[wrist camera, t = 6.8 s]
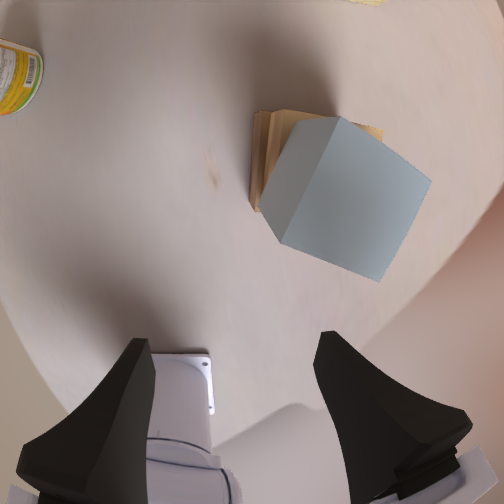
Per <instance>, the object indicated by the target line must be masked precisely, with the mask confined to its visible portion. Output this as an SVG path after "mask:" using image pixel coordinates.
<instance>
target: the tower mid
mask: <svg viewBox="0 0 504 504" xmlns="http://www.w3.org/2000/svg"><path fill="white" fill-rule="evenodd" d="M317 118H326V116H321V115H316V114H311V113H305V112H300V111H294V110H287V109H282V110H279V111H275V112H272V113H271V117H270V126H269V135H268V144H267V153H266V162H265V171H264V180H263V188H262V193H263V191H264V188H265V186H266V184H267V182H268V180H269V178H270V175H271V173H272V171H273V169H274V167H275V165H276V163H277V160H278V158H279V156H280V154H281V152H282V150H283V148H284V145H285V143H286V141H287V139H288V137H289V135H290V133H291V131H292V128H293V126H294V124H295V122H296V121H300V120H308V119H317ZM351 123H353V122H351ZM353 124H354V125H356V126H358V127H359V128H361V129H362V130H364V131H365V132H367V133H368V134H370V135H371V136H373V137H374V138H376V139H377V140H379V141H380V142H382V136H383V130H380V129H376V128H373V127H369V126H365V125H361V124H357V123H353Z"/></svg>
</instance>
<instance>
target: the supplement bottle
mask: <svg viewBox="0 0 504 504" xmlns="http://www.w3.org/2000/svg"><path fill="white" fill-rule="evenodd" d="M42 74H43V62H42V58H41V56H40V54H39V53H38V52H37V51H36V50H34V49H32V48H29V47H26V46H23V45H20V44H17V43H14V42H11V41H7V40H4V39H1V38H0V115H4V114H13V113H16V112H18V111H20V110H21V109H23V108H24V107H25V106H26V105H27V104H28V103H29V102H30V101H31V100H32V98H33V97H34V95H35V94H36V92H37V90H38V87H39V85H40V82H41V79H42Z"/></svg>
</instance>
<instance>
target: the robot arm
mask: <svg viewBox="0 0 504 504" xmlns="http://www.w3.org/2000/svg"><path fill="white" fill-rule="evenodd" d="M203 362H207V363H203ZM313 367H314V371H315V375H316V379H317V382H318V385H319V388H320V391H321V393H322V396H323V398H324V400H325V403H326V405H327V408H328V410H329V413H330V415H331V417H332V420H333V422H334V425H335V428H336V430H337V434H338V438H339V441H340V445H341V449H342V453H343V458H344V462H345V467H346V473H347V478H348V484H349V492H350V500H351V504H472V503H473V502H475V501H476V500H477V499H478V498H480V497H481V496H482V495H483V494H485V493H486V492H487V491H488V490H489V489H490V488H492V487H493V486H494V485H495V484H496V483H497V482H498V479H497V477H496V475H495V473H494V471H493V469H492V468H491V466H490V464H489V462H488V460H487V459H486V457H485V455H484V454H483V452H482V450H481V449H480V447H479V445H476V446H475V447H473V448H472V449H470V450H469V451H467V452H466V453H464V454H463V455H461V456H460V457H459V458H457V459H456V457H455V454H456V453H457V449H456V448H455V446H456V445H457V444H458V443H459V442H460V441H461V440H462V439H463V438H464V437H465V436H466V435H467V434H468V433H469V432H470V430H471V429H472V426H473V423H472V422H471V420H470V419H469V417H468V416H467V414H466V413H465V411H464V410H461V409H458V408H454V407H451V406H447V405H444V404H441V403H438V402H436V401H433V400H431V399H429V398H426V397H424V396H422V395H420V394H418V393H416V392H414V391H412V390H410V389H408V388H407V387H405V386H403V385H401V384H400V383H398V382H397V381H395V380H394V379H392V378H391V377H389V376H387V375H386V374H385V373H383V372H382V371H381V370H380V369H378V368H377V367H375V366H374V365H373V364H372V363H371V362H369V361H368V360H367V359H366V358H365V357H364V356H362V355H361V354H360V353H359V352H358V351H357V350H356V349H354V348H353V347H352V346H351V345H350V344H349V343H348V342H347V341H346V340H345V339H343V338H342V337H341V336H340V335H339V334H338V333H337V332H336V331H326V332H321V336H320V340H319V344H318V348H317V351H316V355H315V359H314V363H313ZM214 413H215V409H214V398H213V386H212V373H211V360H210V356H209V355H208V354H151V351H150V347H149V343H148V339H145V338H133V339H132V340H131V342H130V343H129V344H128V346H127V347H126V349H125V350H124V352H123V353H122V355H121V356H120V357H119V359H118V360H117V362H116V363H115V364H114V366H113V367H112V368H111V370H110V371H109V372H108V374H107V375H106V376H105V378H104V379H103V380H102V381H101V382H100V384H99V385H98V386H97V387H96V388H95V390H94V391H93V392H92V393H91V394H90V395H89V396H88V397H87V398H86V399H85V400H84V401H83V402H82V403H81V404H80V405H79V406H78V407H77V408H76V409H75V410H74V411H73V412H72V413H71V414H70V415H68V416H67V417H66V418H65V419H64V420H62V421H61V422H60V423H58V424H57V425H56V426H54V427H53V428H51V429H50V430H49V431H47V432H46V433H44V434H42V435H41V436H39V437H37V438H35V439H34V440H32V441H30V442H28V443H26V444H24V445H23V448H22V451H21V454H20V458H19V461H18V465H17V469H16V473H17V475H18V476H19V477H20V478H21V479H23V480H24V481H25V482H27V483H28V484H30V485H31V486H32V487H34V488H35V489H37V490H38V491H40V494H39V497H38V496H36V495H34V494H32V493H30V492H28V491H25V490H23V489H21V488H19V487H17V486H14V485H10V487H9V492H8V497H7V502H6V504H243V499H242V491H241V487H240V484H239V482H238V480H237V478H236V477H235V476H234V474H233V473H232V472H231V470H230V469H228V468H226V467H221V463H220V456H216V455H212V443H211V428H210V415H211V414H214Z"/></svg>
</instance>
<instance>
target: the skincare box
mask: <svg viewBox="0 0 504 504" xmlns="http://www.w3.org/2000/svg"><path fill="white" fill-rule="evenodd" d="M349 1H353V2H358V3H362V4H367V5H371V6H377V5H379V4H380V3H382V2H384V1H386V0H349Z"/></svg>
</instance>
